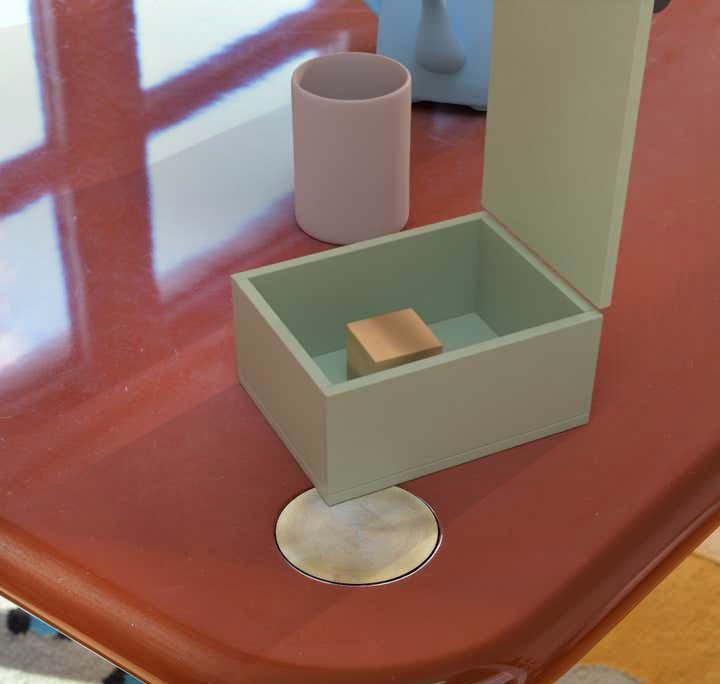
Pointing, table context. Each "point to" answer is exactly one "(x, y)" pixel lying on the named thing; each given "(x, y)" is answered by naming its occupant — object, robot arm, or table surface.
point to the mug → (351, 146)
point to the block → (388, 343)
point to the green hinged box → (420, 378)
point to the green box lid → (565, 129)
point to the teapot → (439, 46)
